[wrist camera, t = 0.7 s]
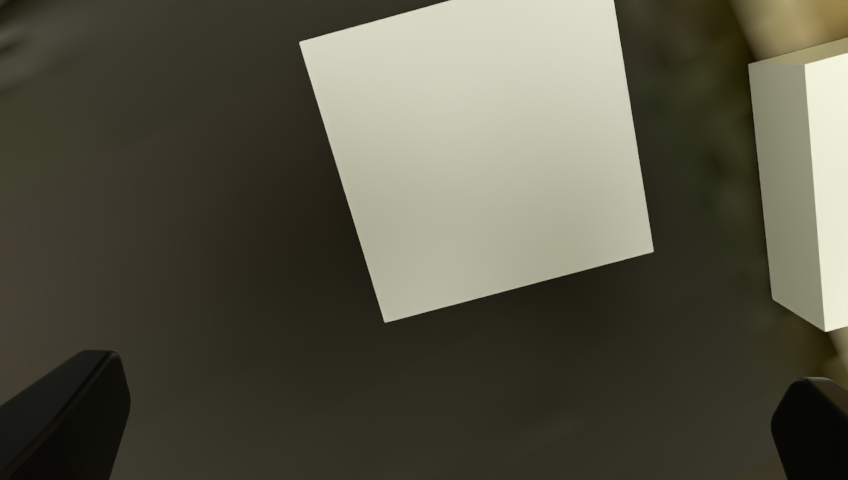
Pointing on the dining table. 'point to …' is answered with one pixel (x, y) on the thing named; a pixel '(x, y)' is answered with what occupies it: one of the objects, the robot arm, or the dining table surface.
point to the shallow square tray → (805, 178)
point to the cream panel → (482, 146)
